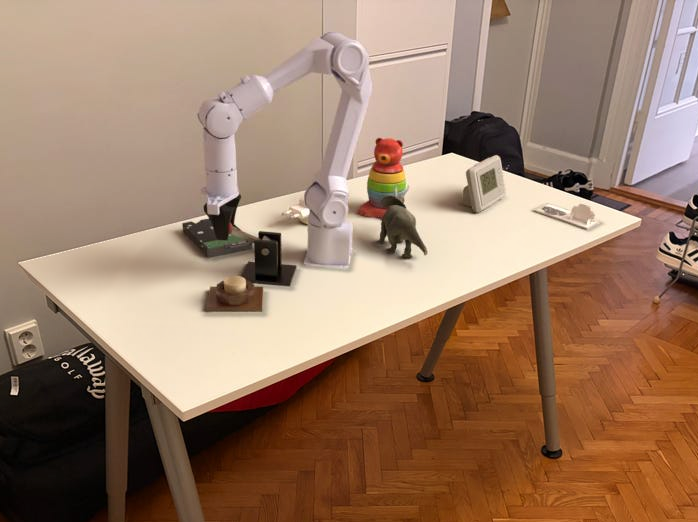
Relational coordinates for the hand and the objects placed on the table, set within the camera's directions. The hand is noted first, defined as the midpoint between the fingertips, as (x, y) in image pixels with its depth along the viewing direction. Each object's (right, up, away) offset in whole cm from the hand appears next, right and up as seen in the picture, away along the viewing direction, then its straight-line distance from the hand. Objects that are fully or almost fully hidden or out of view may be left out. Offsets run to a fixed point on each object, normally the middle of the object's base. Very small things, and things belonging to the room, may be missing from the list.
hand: (224, 235), depth 140 cm
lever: (+4, -1, +1) cm, 4 cm away
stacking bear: (+32, +12, +36) cm, 50 cm away
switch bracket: (+8, -8, +4) cm, 12 cm away
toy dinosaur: (+34, 0, +19) cm, 39 cm away
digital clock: (+58, +16, +45) cm, 74 cm away
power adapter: (+13, +7, +28) cm, 31 cm away
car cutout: (+78, +11, +40) cm, 88 cm away
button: (+3, -11, -7) cm, 13 cm away
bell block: (+3, -14, -5) cm, 15 cm away
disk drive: (-5, +1, +17) cm, 17 cm away
